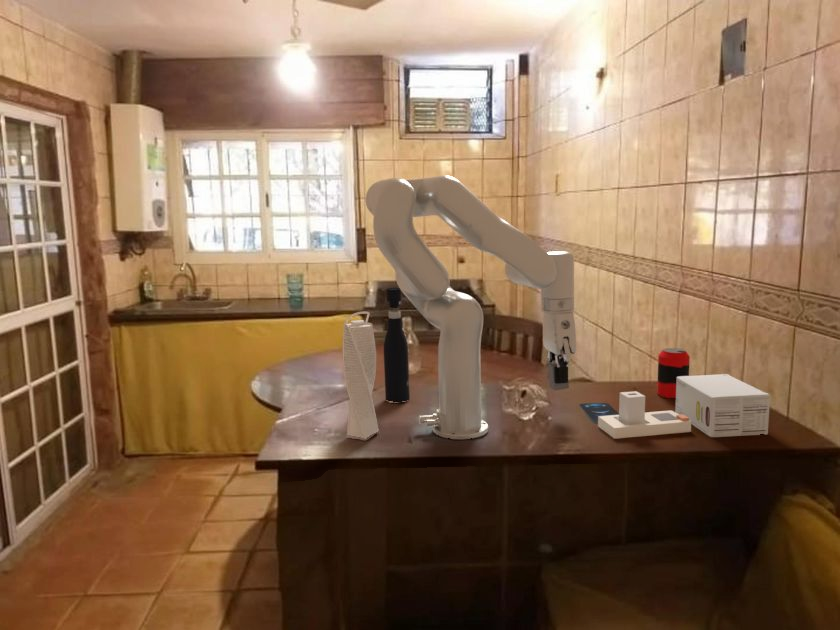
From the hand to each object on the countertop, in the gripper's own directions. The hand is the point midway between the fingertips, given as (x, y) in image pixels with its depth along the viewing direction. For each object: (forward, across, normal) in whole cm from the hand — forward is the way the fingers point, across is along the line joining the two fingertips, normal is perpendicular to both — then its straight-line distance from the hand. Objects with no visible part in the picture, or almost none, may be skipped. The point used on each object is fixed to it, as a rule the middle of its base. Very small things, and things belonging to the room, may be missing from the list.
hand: (558, 380), depth 152 cm
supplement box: (+10, -13, -33) cm, 37 cm away
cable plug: (+2, 0, 0) cm, 2 cm away
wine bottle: (+9, +23, +36) cm, 44 cm away
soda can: (+10, +9, -35) cm, 37 cm away
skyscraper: (+8, -2, +47) cm, 48 cm away
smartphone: (+10, 0, -11) cm, 15 cm away
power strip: (+9, -13, -15) cm, 22 cm away
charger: (+9, -13, -12) cm, 20 cm away
